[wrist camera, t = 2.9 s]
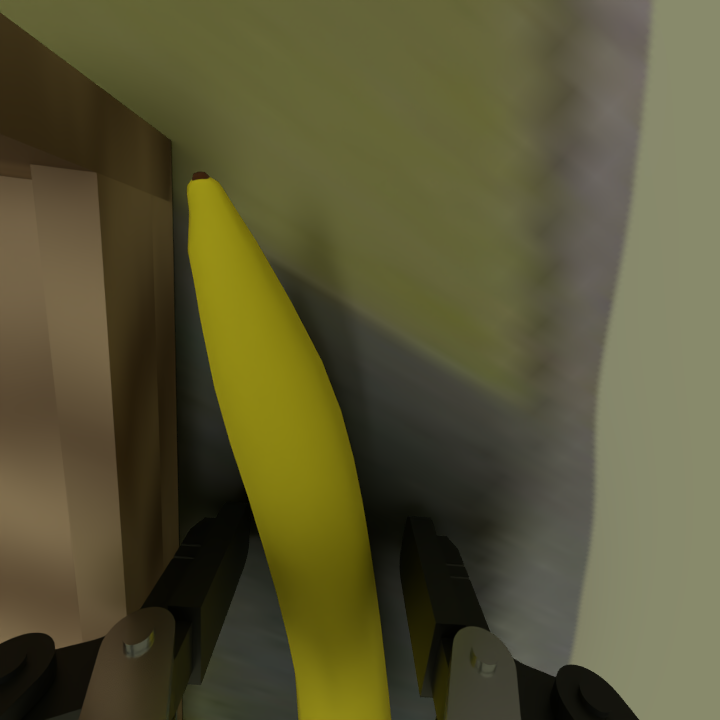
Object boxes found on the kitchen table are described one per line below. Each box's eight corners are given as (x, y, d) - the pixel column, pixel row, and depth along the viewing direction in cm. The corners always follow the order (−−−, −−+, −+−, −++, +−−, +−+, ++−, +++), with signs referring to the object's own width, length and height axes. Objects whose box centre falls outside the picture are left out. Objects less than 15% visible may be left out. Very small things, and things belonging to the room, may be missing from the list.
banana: (328, 216, 9) (286, 105, 3) (394, 707, 14) (429, 1045, 8) (223, 230, 9) (-19, 144, 3) (324, 716, 14) (304, 1061, 8)
